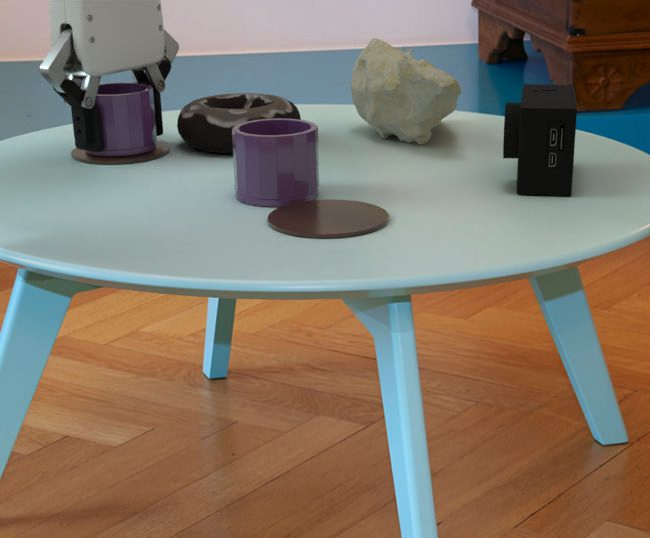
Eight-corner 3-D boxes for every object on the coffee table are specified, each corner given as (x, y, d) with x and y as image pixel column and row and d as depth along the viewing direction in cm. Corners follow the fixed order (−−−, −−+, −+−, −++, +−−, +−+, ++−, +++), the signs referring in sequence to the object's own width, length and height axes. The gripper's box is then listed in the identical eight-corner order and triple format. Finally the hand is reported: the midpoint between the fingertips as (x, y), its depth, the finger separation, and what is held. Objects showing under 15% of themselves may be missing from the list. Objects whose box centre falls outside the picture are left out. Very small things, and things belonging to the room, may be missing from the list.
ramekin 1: (126, 159, 101) (120, 98, 99) (69, 152, 104) (63, 92, 102) (171, 144, 106) (166, 85, 104) (116, 137, 109) (111, 80, 107)
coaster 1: (127, 168, 100) (127, 165, 99) (50, 157, 104) (50, 154, 104) (188, 147, 107) (188, 144, 107) (114, 138, 111) (114, 135, 111)
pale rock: (320, 95, 114) (366, 38, 114) (397, 162, 116) (443, 106, 116) (348, 87, 97) (403, 20, 96) (438, 166, 99) (493, 100, 98)
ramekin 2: (290, 211, 86) (288, 139, 84) (219, 200, 90) (215, 131, 87) (333, 190, 92) (332, 122, 90) (265, 181, 95) (262, 115, 93)
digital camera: (505, 162, 99) (509, 82, 96) (569, 164, 98) (574, 83, 96) (501, 194, 90) (504, 106, 87) (571, 196, 89) (577, 107, 86)
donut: (313, 152, 104) (312, 109, 102) (184, 161, 102) (181, 117, 100) (289, 126, 114) (288, 86, 113) (172, 134, 112) (170, 93, 111)
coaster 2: (352, 245, 78) (352, 241, 78) (244, 227, 83) (243, 223, 83) (409, 212, 86) (409, 208, 86) (307, 197, 90) (307, 194, 90)
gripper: (143, -68, 107) (158, 120, 113) (-8, -56, 94) (19, 155, 101) (202, -67, 102) (213, 129, 109) (52, -54, 90) (76, 167, 96)
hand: (120, 140), depth 105 cm, fingers closed on ramekin 1, 6 cm apart
